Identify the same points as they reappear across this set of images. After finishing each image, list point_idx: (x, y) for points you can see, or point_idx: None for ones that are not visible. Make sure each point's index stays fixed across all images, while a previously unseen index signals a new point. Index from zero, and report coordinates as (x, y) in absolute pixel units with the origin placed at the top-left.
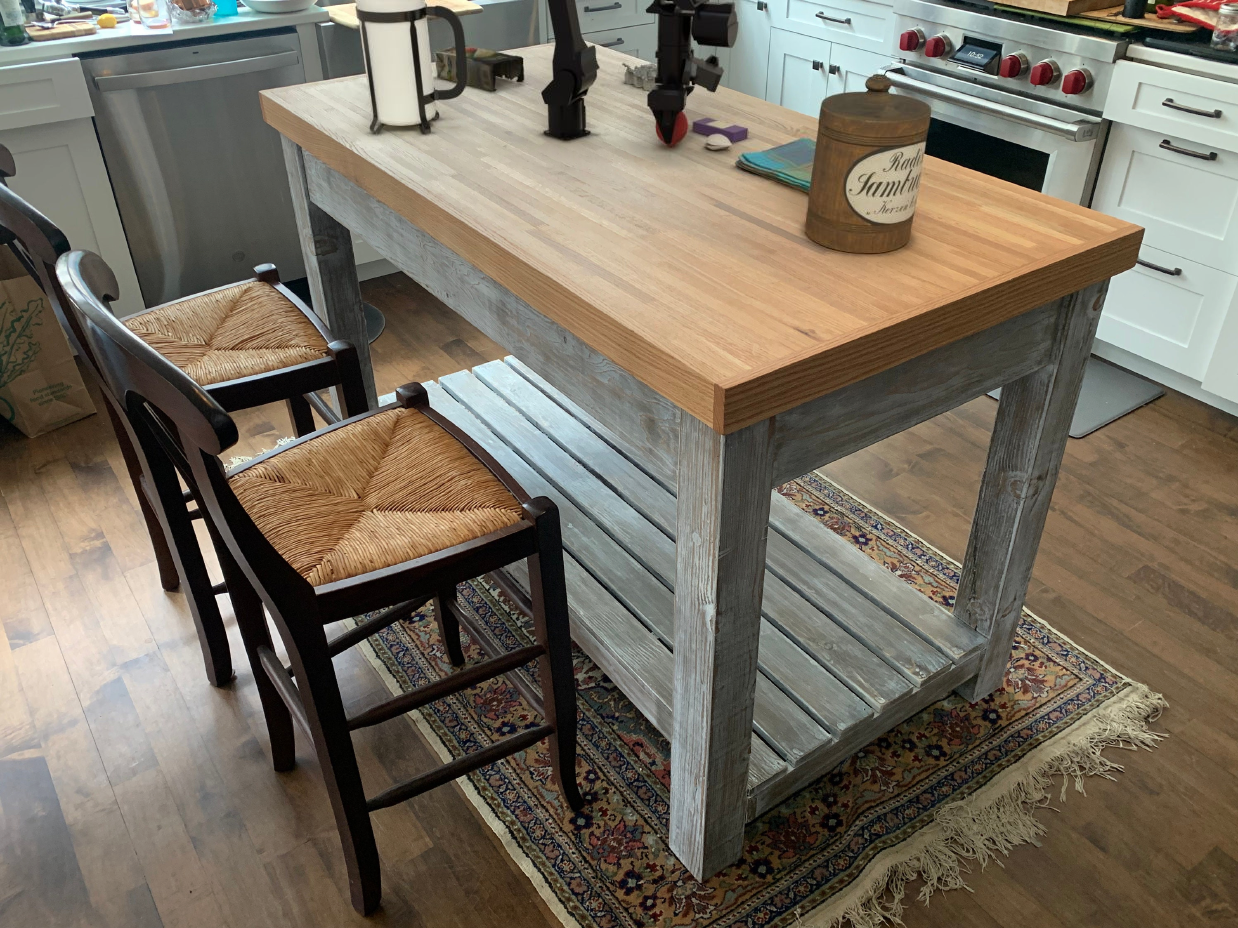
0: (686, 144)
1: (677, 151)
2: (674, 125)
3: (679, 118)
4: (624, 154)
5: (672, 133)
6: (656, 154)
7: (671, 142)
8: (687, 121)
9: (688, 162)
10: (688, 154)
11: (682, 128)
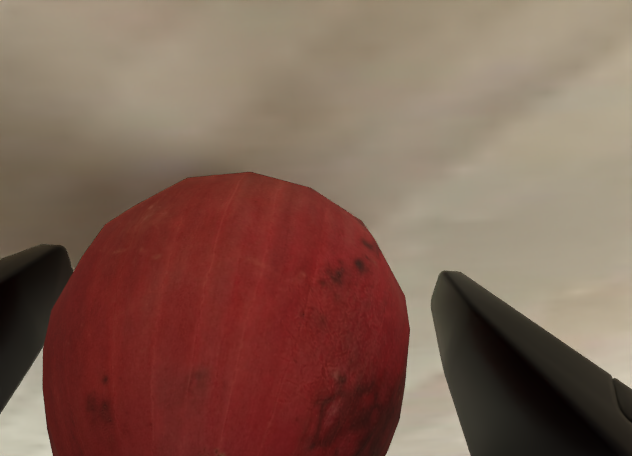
0: (161, 132)
1: (341, 187)
2: (624, 389)
3: (350, 367)
4: (402, 412)
5: (531, 326)
6: (406, 297)
7: (449, 272)
8: (228, 233)
9: (610, 97)
10: (412, 106)
11: (364, 252)
